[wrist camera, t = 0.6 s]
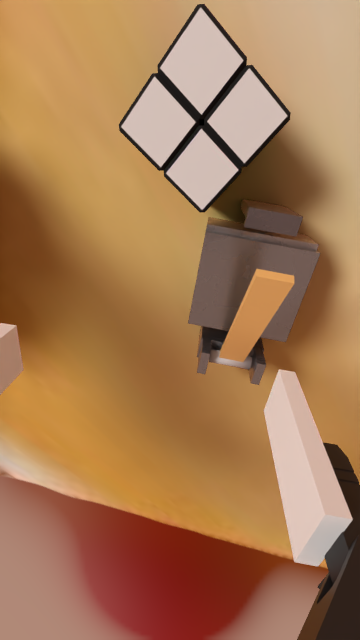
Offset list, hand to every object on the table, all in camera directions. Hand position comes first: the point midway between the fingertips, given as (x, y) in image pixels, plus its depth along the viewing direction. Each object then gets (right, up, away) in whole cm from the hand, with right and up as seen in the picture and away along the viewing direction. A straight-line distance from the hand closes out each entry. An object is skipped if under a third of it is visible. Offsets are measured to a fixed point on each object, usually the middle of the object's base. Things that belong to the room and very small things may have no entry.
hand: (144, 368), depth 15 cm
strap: (+9, +2, +16) cm, 18 cm away
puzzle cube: (+5, +23, +18) cm, 29 cm away
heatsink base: (+10, +8, +24) cm, 27 cm away
